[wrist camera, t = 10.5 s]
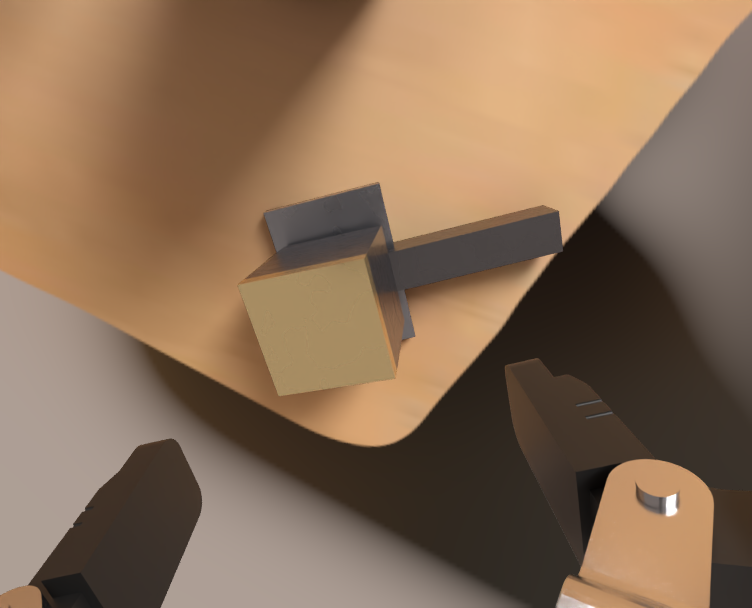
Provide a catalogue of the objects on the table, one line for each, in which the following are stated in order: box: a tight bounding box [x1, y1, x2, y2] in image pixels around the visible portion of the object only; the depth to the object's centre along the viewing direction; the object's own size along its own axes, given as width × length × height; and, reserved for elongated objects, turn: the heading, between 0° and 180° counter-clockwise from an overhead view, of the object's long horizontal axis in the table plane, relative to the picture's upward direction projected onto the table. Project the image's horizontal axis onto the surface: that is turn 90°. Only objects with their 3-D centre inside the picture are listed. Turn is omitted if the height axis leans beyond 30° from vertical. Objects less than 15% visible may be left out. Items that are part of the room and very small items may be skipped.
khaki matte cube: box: [238, 225, 405, 396], centre depth 24 cm, size 6×6×7 cm
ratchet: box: [264, 182, 563, 340], centre depth 26 cm, size 10×16×6 cm, turn 104°
